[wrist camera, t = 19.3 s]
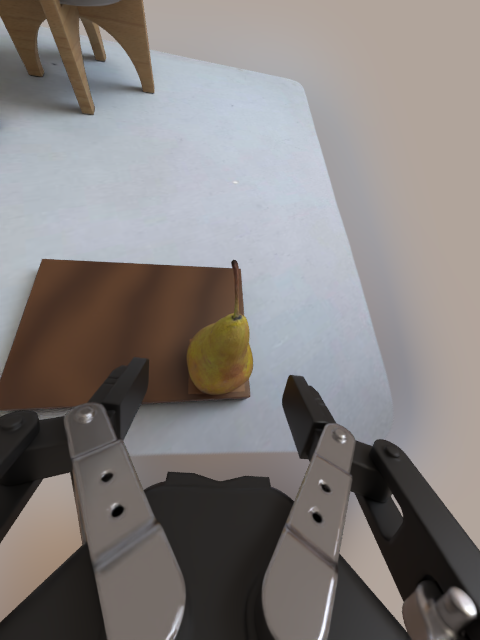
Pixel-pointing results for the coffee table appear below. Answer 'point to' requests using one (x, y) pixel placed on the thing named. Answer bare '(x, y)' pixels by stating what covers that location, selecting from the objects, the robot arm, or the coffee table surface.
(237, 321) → the fruit
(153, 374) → the serving board
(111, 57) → the coffee table surface
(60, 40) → the planter
